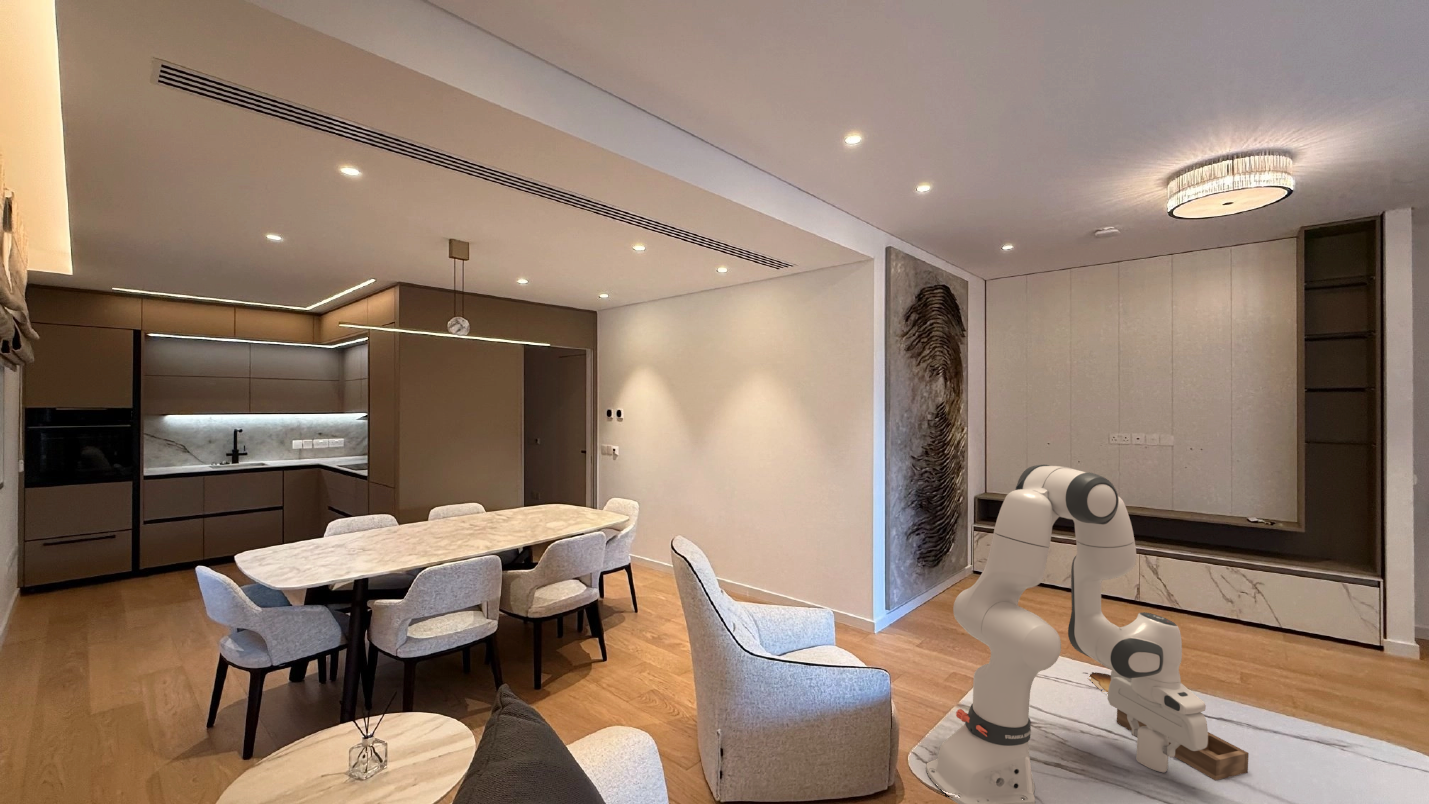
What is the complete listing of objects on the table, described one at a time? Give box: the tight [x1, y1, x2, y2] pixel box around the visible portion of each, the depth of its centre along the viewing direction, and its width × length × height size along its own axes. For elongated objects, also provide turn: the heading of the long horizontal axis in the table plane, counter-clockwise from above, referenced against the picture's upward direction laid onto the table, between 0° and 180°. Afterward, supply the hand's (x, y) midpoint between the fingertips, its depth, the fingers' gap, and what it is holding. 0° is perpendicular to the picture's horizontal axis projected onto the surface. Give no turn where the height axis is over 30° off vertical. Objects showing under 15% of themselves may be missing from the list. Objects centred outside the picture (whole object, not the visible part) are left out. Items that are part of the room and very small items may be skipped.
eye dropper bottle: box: [1136, 726, 1169, 774], centre depth 131 cm, size 4×6×12 cm
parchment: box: [1082, 671, 1111, 694], centre depth 163 cm, size 25×10×1 cm, turn 173°
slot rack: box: [1116, 708, 1250, 781], centre depth 139 cm, size 10×23×4 cm, turn 17°
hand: (1152, 745), depth 131 cm, fingers closed on eye dropper bottle, 6 cm apart
